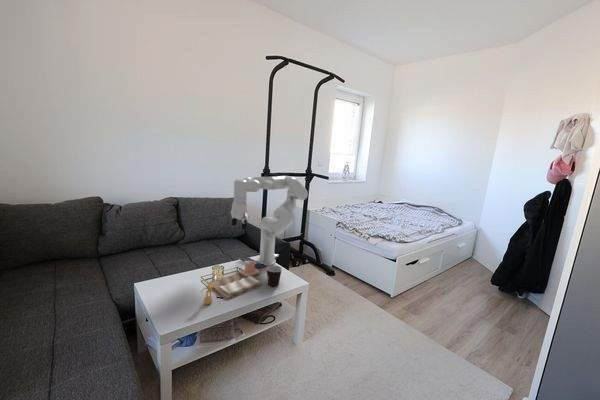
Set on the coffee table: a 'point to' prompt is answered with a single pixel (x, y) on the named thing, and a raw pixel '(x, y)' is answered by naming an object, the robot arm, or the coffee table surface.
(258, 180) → the robot arm
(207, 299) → the figurine
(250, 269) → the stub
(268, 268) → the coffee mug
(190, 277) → the coffee table surface
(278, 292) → the coffee table surface
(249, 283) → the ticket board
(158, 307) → the coffee table surface
